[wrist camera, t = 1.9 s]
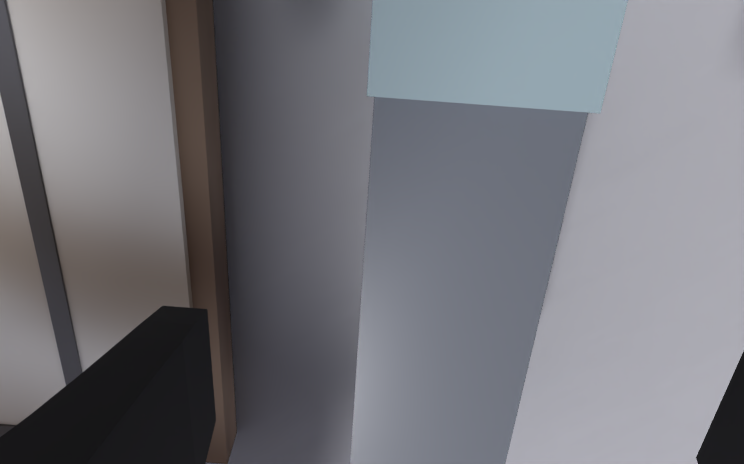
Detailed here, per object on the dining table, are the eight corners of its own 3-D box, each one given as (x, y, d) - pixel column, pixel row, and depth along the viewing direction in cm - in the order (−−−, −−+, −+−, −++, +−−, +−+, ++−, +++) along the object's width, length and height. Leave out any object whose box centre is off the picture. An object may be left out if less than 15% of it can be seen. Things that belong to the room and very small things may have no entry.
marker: (476, 434, 16) (492, 550, 13) (350, 424, 16) (340, 538, 13) (576, -66, 11) (639, -45, 8) (382, -79, 11) (376, -64, 8)
